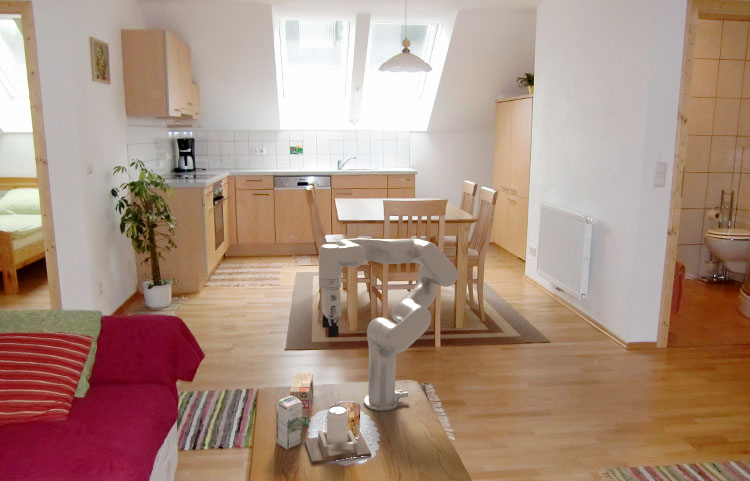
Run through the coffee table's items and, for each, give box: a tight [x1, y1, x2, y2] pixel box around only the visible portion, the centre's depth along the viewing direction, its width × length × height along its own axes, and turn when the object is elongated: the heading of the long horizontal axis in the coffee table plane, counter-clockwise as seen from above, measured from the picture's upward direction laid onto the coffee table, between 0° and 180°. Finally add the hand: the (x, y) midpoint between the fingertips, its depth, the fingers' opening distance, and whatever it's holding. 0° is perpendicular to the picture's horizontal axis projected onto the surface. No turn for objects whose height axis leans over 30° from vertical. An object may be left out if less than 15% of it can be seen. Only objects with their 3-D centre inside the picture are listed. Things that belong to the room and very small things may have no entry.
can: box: [326, 404, 349, 445], centre depth 178 cm, size 6×6×12 cm
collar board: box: [304, 429, 372, 465], centre depth 178 cm, size 18×13×4 cm
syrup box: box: [276, 396, 303, 451], centre depth 180 cm, size 6×6×14 cm
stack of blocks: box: [289, 372, 314, 426], centre depth 202 cm, size 21×6×12 cm, turn 2°
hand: (330, 331), depth 193 cm, fingers open, 9 cm apart
